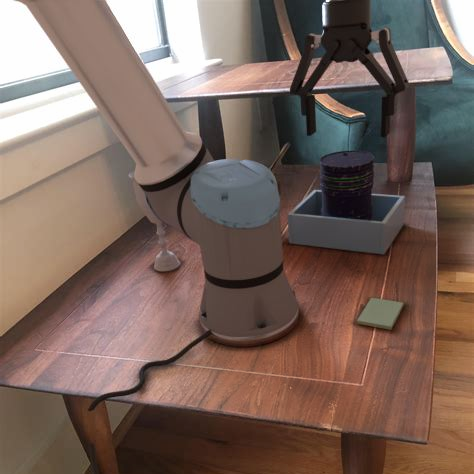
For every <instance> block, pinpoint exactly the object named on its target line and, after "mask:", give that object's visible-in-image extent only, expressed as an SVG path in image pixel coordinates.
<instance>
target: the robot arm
mask: <svg viewBox="0 0 474 474" xmlns="http://www.w3.org/2000/svg"><path fill="white" fill-rule="evenodd" d="M13 1H15V2H18V3H21V4H22V5H24V6H25V7H26V8H27V9H28V10H29V12H30V14H31V15H32V16H33V18H34V19H35V21H36V22H37V23H38V25H39V26H40V28H41V29H42V31H43V32H44V33H45V35H46V36H47V38H48V39H49V40H50V42H51V43H52V45H53V46H54V48H55V50H56V51H57V52H58V54H59V55H60V57H61V58H62V60H64V62H65V64H66V65H67V66H68V68H69V70H70V71H71V72H72V74H73V75H74V77H75V78H76V79H77V81H78V82H79V84H80V85H81V87H82V88H83V89H84V91H85V92H86V93H87V95H88V96H89V98H90V99H91V101H92V102H93V104H94V105H95V106H96V108H97V109H98V111H99V113H100V114H101V115H102V116H103V118H104V120H105V121H106V122H107V123H108V125H109V127H110V129H111V130H112V131H113V132H114V134H115V135H116V137H117V138H118V139H119V141H120V143H121V144H122V145H123V147H124V148H125V149H126V151H127V153H128V154H129V156H130V157H131V158H132V159H133V161H134V163H135V169H134V171H135V173H134V177H135V180H136V182H137V183H138V184H139V186H140V187H141V189H142V190H143V194H144V198H145V201H146V203H147V205H148V207H149V209H150V210H151V211H152V213H153V214H154V215H155V216H156V217H157V218H158V219H159V220H160V221H161V222H162V224H163V225H165V226H167V227H169V228H171V229H174V230H176V231H177V232H179V234H182V235H183V236H185V237H186V238H188V239H190V240H191V241H192V242H194V243H195V244H197V245H199V248H200V255H201V260H202V266H203V267H202V268H203V272H204V279H205V280H204V285H203V290H202V294H201V300H200V306H199V311H198V312H199V313H198V317H199V324H200V329H201V331H202V333H203V334H201V335H200V336H198V337H197V338H195V339H194V340H193V341H191V342H190V343H188V344H187V345H186V346H184V347H183V348H182V349H181V350H180V351H179V352H178V353H176V354H175V355H173V356H171V357H169V358H167V359H162V360H153V361H149V362H147V363H144V364H143V365H142V366H141V367H140V369H139V372H138V379H139V381H138V384H136V385H135V386H133V387H131V388H129V389H124V390H117V391H110V392H107V393H103V394H101V395H99V396H97V397H95V399H93V401H92V402H91V404H90V405H89V407H88V409H87V412H92V411H94V410H95V409H96V407H97V406H98V405H99V404H100V403H102V402H103V401H105V400H108V399H112V398H113V399H114V398H119V397H120V398H121V397H126V396H130V395H133V394H136V393H137V392H139V391H140V390H142V389H143V387H144V385H145V383H146V377H145V374H146V371H147V370H148V369H150V368H153V367H160V366H161V367H163V366H167V365H170V364H172V363H175V362H176V361H178V360H180V359H181V358H182V357H183V356H185V354H187V353H188V352H189V351H190V350H192V349H193V348H194V347H196V346H198V345H199V344H200V343H201V342H202V341H204V340H205V339H207V338H208V339H210V340H211V341H213V342H216V343H218V344H221V345H225V346H230V347H231V346H232V347H255V346H261V345H265V344H269V343H271V342H274V341H277V340H279V339H281V338H283V337H284V336H287V335H288V334H289V333H290V332H292V331H293V329H295V327H296V326H297V324H298V323H299V318H300V312H299V311H300V310H299V302H298V300H297V297H296V291H294V290H293V288H292V286H291V284H290V281H289V279H288V277H287V275H286V272H285V270H284V254H283V253H284V252H283V239H282V226H281V225H282V224H281V207H280V206H281V196H280V197H279V193H278V187H277V182H276V178H275V176H274V174H273V173H272V172H271V171H270V170H269V169H270V168H268V167H267V166H265V165H264V164H262V163H260V162H257V161H254V160H250V159H243V160H239V158H225V159H223V158H222V159H218V160H214V158H213V156H212V154H211V153H210V151H209V149H208V148H207V146H206V144H205V143H204V141H203V139H202V138H201V136H200V135H199V134H197V133H196V132H190V131H186V130H185V129H184V128H183V126H182V124H181V123H180V120H179V119H178V117H177V116H176V114H175V112H174V111H173V109H172V107H171V106H170V104H169V103H168V101H167V99H166V97H165V95H164V94H163V93H162V91H161V89H160V87H159V86H158V84H157V82H156V80H155V79H154V78H153V76H152V74H151V73H150V71H149V69H148V67H147V66H146V64H145V62H144V60H143V59H142V57H141V56H140V54H139V53H138V50H137V49H136V47H135V46H134V44H133V42H132V41H131V39H130V37H129V36H128V34H127V32H126V31H125V29H124V27H123V26H122V24H121V22H120V21H119V19H118V17H117V15H116V14H115V12H114V11H113V9H112V7H111V6H110V4H109V2H108V1H107V0H13ZM321 10H322V11H321V12H322V14H321V15H322V34H316V33H315V32H313V33H309V34H307V35H305V36H304V42H303V44H304V45H303V52H302V55H301V57H300V60H299V63H298V65H297V68H296V71H295V73H294V76H293V79H292V81H291V85H290V87H289V93H290V94H291V95H297V96H298V97H299V99H300V114H301V116H302V117H305V126H306V136H307V137H311V136H312V135H314V134H315V133H316V132H317V115H316V95H315V94H312V91H313V90H314V88H315V87H316V86H317V84H318V83H319V81H320V80H321V79H322V77H323V76H324V74H325V73H326V71H327V70H328V68H329V67H330V66H331V64H332V63H333V62H335V64H339V63H343V62H347V63H354V62H357V61H359V62H360V63H361V65H363V66H364V67H365V68H366V69H367V71H368V72H369V74H370V75H371V77H373V79H374V80H375V81H376V82H377V84H378V85H379V86H380V87H381V89H382V90H383V92H384V93H385V94H384V95H382V96H381V114H380V115H381V117H380V119H381V120H380V137H381V138H386V137H387V136H388V135H389V134H391V133H390V131H391V116H393V117H394V115H395V114H396V112H397V104H398V103H397V100H398V99H397V98H398V93H399V94H400V93H401V92H404V91H406V90H407V88H409V86H410V83H409V80H408V78H407V76H406V74H405V70H404V68H403V66H402V64H401V62H400V58H399V56H398V54H397V53H396V50H395V48H394V45H393V43H392V33H391V28H390V27H384V28H382V29H380V30H379V29H378V30H374V31H373V30H372V28H371V0H325V1H323V3H322V4H321ZM372 41H374V42H375V44H376V45H377V46H379V49H380V52H381V54H382V56H383V59H384V61H385V63H386V65H387V68H388V70H389V72H390V75H391V77H392V78H391V77H390V76H389V74H388V73H387V72H386V71H385V69H384V68H383V66H382V65H381V64H380V63H379V61H378V60H377V59H376V57H375V56H374V53H373V52H372V51H371V50H370V48H369V47H370V44H371V42H372ZM320 44H321V46H322V47H323V49H324V50H325V52H324V54H323V56H322V57H321V59H320V60H319V63H318V64H317V65H316V67H315V69H314V70H313V72H312V73H311V75H310V76H309V77H308V79H307V80H306V82H305V79H306V76H307V74H308V72H309V69H310V66H311V64H312V60H313V58H314V57H315V52H316V49H318V48H319V46H320ZM392 79H393V80H392ZM304 82H305V84H304ZM95 445H96V444H95V443H92V442H89V441H88V448H89V456H90V463H91V470H92V474H100V473H99V468H98V460H97V453H96V446H95Z"/></svg>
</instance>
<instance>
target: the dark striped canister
mask: <svg viewBox="0 0 474 474" xmlns="http://www.w3.org/2000/svg"><path fill="white" fill-rule="evenodd" d="M374 161H375V157H374V155H373V154H372V153H371V152H367V151H364V150H341V151H335V152H330V153H327V154H325V155H323V156H321V157H320V159H319V181H320V184H319V187H320V190H321V191H322V209H321V216H326V217H337V218H347V219H358V220H369V221H373V214H372V210H373V208H372V205H371V198H372V194H373V188H374V184H375V182H374V177H375V176H374V175H375V169H374Z"/></svg>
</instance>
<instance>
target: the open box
mask: <svg viewBox="0 0 474 474" xmlns="http://www.w3.org/2000/svg"><path fill="white" fill-rule="evenodd" d="M405 203H406V196H405V195H397V194H384V193H383V194H382V193H372V198H371V205H372V208H373V210H372V214H373V221H369V220H358V219H347V218H337V217H326V216H321V209H322V191H321V189H313V190H312V191H311V192H310V193H309V194H308V195H307V196H306V197H304V199H303V200H301V201H300V202H299V203H298V204H297V205H296V206H295V207H294V208H292V210H291V211H289V212H288V213H287V215H286V216H287V230H288V243H289V244H293V245H300V246H308V247H317V248H324V249H325V248H326V249H334V250H341V251H343V250H344V251H349V252H350V251H351V252H358V253H359V252H360V253H367V254H375V255H376V254H377V255H382V256H383V255H385V254H386V252H387V251H388V249H389V248H390V246H391V245H392V243H393V242H394V240H395V239H396V238H397V236H398V234H399V233H400V231H401V229H402V228H403V227H404V223H405V207H406V206H405V205H406V204H405Z"/></svg>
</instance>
